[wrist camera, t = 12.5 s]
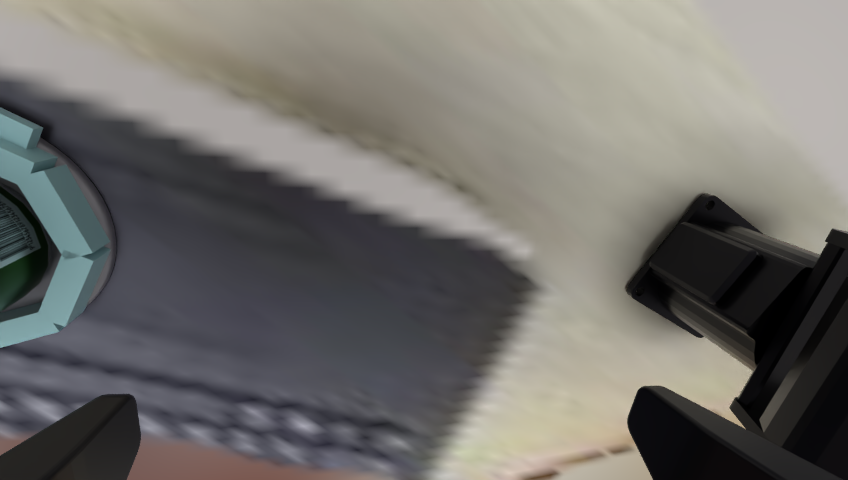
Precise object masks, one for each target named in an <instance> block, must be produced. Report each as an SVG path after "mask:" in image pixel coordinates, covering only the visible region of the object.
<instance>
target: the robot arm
mask: <svg viewBox="0 0 848 480" xmlns="http://www.w3.org/2000/svg"><path fill="white" fill-rule="evenodd" d="M707 202H708V204H707ZM706 204H707V206H706ZM825 241H826V242H828V243H827V244H826V246H825V248H824V250H823V251H822V253H821V255H819V254H816V253H814V252H811V251H808V250H805V249H802V248H800V247H797V246H794V245H791V244H789V243H786V242H783V241H780V240H777V239H775V238H772V237H769V236H766V235H764V234H762V233H761V232H760V231H759V230H757V229H756V228H755V227H754V226H752V225H751V224H750V223H749V222H747V221H746V220H745V219H744V218H742V217H741V216H740V215H739V214H738V213H736V212H735V211H734V210H733V209H731V208H730V207H729V206H728V205H726V204H725V203H724V202H723V201H721V200H720V199H719V198H718V197H716V196H713V195H710V194H703V195H701V196H700V197H699V198H698V199H697V200H696V201H695V203H694V204H693V205H692V206H691V208H690V209H689V210H688V211H687V213H686V214H685V215H684V216H683V218H682V219H681V220H680V221H679V223H678V224H677V225H676V226H675V228H674V229H673V230H672V231H671V233H670V234H669V235H668V236H667V238H666V239H665V240H664V241H663V243H662V244H661V245H660V246H659V248H658V249H657V250H656V251H655V253H654V254H653V255H652V256H651V258H650V259H649V260H648V261H647V263H646V264H645V265H644V266H643V268H642V269H641V270H640V271H639V273H638V274H637V275H636V276H635V278H634V279H633V280H632V281H631V283H630V284H629V285H628V287H627V294H628V295H629V296H631V297H632V298H633V299H635V300H637V301H638V302H640V303H641V304H643V305H645V306H646V307H648V308H650V309H651V310H653V311H655V312H656V313H658V314H660V315H661V316H663V317H665V318H666V319H668V320H670V321H671V322H673V323H675V324H676V325H678V326H680V327H681V328H683V329H685V330H686V331H688V332H689V333H691V334H693V335H694V336H696V337H698V338H702V337H706V338H707V339H709V340H710V341H711V342H713V343H714V344H716V345H717V346H718V347H720V348H721V349H723V350H724V351H726V352H727V353H728V354H730V355H731V356H733V357H734V358H735V359H737V360H738V361H740V362H741V363H742V364H744V365H745V366H747V367H748V368H750V369H751V370H752V371H753V373H752V374H751V376H750V378H749V380H748V381H747V383H746V385H745V387H744V388H743V390H742V392H741V393H740V395H739V397H735V399H734V400H733V402H732V404H731V406H730V410H731V411H732V412H733V413H734V415H735V416H736V417H737V418H738V420H739V421H740V422H741V423H742V425H743V426H744V427H745V428H746V429H744V428H742V427H740V426H738V425H737V424H734V423H733V422H731V421H729V420H727V419H725V418H723V417H721V416H719V415H717V414H715V413H713V412H711V411H710V410H708V409H706V408H704V407H702V406H700V405H698V404H696V403H694V402H692V401H690V400H688V399H686V398H684V397H682V396H681V395H679V394H677V393H675V392H673V391H671V390H669V389H667V388H665V387H662V386H643V387H641V388H640V389H639V390H638V391H637V394H636V396H635V399H634V402H633V404H632V407H631V410H630V412H629V415H628V419H627V424H628V429H629V432H630V434H631V436H632V438H633V440H634V442H635V444H636V446H637V448H638V450H639V452H640V454H641V456H642V458H643V460H644V462H645V464H646V466H647V468H648V470H649V472H650V474H651V476H652V478H653V480H848V232H846V231H842V230H837V229H832V230H831V231H830V233H829V235H828V237H827V238H826V240H825ZM638 288H639V290H638V291H637V292H636V290H637V289H638ZM140 440H141V432H140V425H139V418H138V411H137V404H136V400H135V398H134V396H132V395H130V394H106V395H101V396H99V397H97V398H95V399H94V400H92V401H90V402H89V403H87V404H85V405H84V406H82V407H80V408H79V409H77V410H75V411H74V412H72V413H70V414H69V415H67V416H65V417H64V418H62V419H60V420H59V421H57V422H55V423H54V424H52V425H50V426H49V427H47V428H45V429H44V430H42V431H40V432H39V433H37V434H35V435H34V436H32V437H31V438H29V439H27V440H26V441H24V442H22V443H21V444H19V445H17V446H16V447H14V448H12V449H11V450H9V451H7V452H6V453H4V454H2V455H1V456H0V480H127V477H128V475H129V472H130V470H131V467H132V465H133V462H134V460H135V457H136V455H137V452H138V449H139V446H140Z"/></svg>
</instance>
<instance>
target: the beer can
mask: <svg viewBox="0 0 848 480" xmlns="http://www.w3.org/2000/svg"><path fill="white" fill-rule="evenodd" d="M51 257H52V238H51V237H50V235H49V234H48V232H47V230H46V229H45V227H44V226H43V224H42V222H41V221H40V219H39V218H38V216H37V215H36V213H35V211H34V210H33V208H32V207H31V205H30V203H29V202H28V200H27V199H26V198H25V197H24V196H22V195H21V194H20V193H18V192H17V191H16V190H15V189H13V188H11V187H9V186H7V185H5V184H3V183H1V182H0V312H1V311H3V310H4V309H6V308H7V307H9V306H10V305H12V304H14V303H15V302H17V301H18V300H20V299H21V298H23V297H25V296H26V295H27V294H28V293H29V292H30V291H32V290H33V289H34V288H35V287H36V286H37V285H38V284H40V282H41V280H42V278H43V276H44V274H45V272H46V270H47V267H48V265H49V262H50V260H51Z"/></svg>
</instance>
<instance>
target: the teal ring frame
mask: <svg viewBox="0 0 848 480" xmlns="http://www.w3.org/2000/svg"><path fill="white" fill-rule="evenodd" d="M42 130H43V127H41V126H39V125H37V124H34V123H32V122H30V121H28V120H26V119H24V118H22V117H20V116H18V115H15V114H13V113H11V112H9V111H7V110H5V109H3V108H1V107H0V182H1V183H3V184H5V185H7V186H9V187H11V188H13V189H15V190H16V191H17V192H18V193H20V194H21V195H22V196H24V197H25V198H26V199H27V200H28V202H29V203H30V205H31V207H32V208H33V210H34V211H35V213H36V215H37V216H38V218H39V219H40V221H41V222H42V224H43V226H44V227H45V229H46V230H47V232H48V234H49V235H50V237H51V238H52V257H51V260H50V262H49V265H48V267H47V270H46V272H45V274H44V276H43V278H42V280H41V282H40V284H38V285H37V286H36V287H35V288H34V289H33V290H32V291H30V292H29V293H28V294H27V295H26V296H25V297H23V298H21V299H20V300H18V301H17V302H15V303H14V304H12V305H10V306H9V307H7V308H6V309H4V310H3V311H1V312H0V348H1V347H5V346H9V345H12V344H16V343H20V342H23V341H27V340H31V339H34V338H38V337H42V336H45V335H49V334H53V333H56V332H59V331H61V330H62V329H63V328H64V327H66V326H67V325H68V324H69V323H71V322H72V321H73V320H74V319H75V318H77V317H78V316H79V315H80V314H81V313H82V312H84V310H85V308H86V306H87V305H88V304H90V303H91V302H92V301H93V300H94V299H95V298H96V297H97V296H98V295H99V294H100V292H101V291H102V290H103V289H104V287H105V286H106V284H107V282H108V280H109V278H110V276H111V274H112V271H113V268H114V265H115V258H116V235H115V229H114V225H113V222H112V218H111V215H110V212H109V210H108V208H107V206H106V204H105V202H104V200H103V198H102V197H101V195H100V193H99V192H98V190H97V189H96V187H95V186H94V184H93V183H92V182H91V181H90V179H89V178H88V177H87V176H86V174H85V173H84V172H83V171H82V170H81V169H80V168H79V167H78V166H77V165H76V164H75V163H74V162H73V161H72V160H71V159H70V158H68V157H67V156H66V155H65V154H63V153H62V152H61V151H60V150H58V149H57V148H56V147H54V146H53V145H51V144H50V143H48V142H47V141H45V140H44V139H42V138H41V137H40V135H41V133H42Z"/></svg>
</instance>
